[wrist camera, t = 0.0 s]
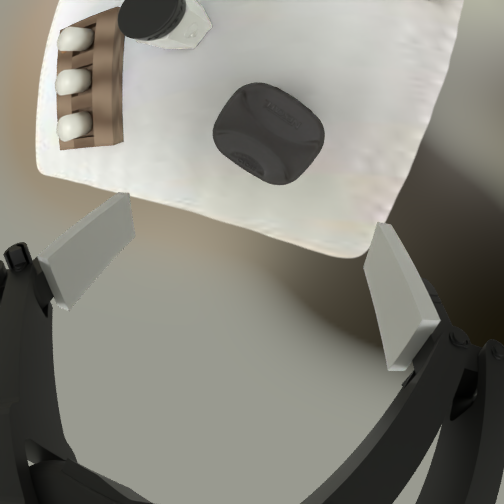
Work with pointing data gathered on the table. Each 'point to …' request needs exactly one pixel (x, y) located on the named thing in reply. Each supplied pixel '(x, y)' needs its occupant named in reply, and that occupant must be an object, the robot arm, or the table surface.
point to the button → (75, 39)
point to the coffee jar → (268, 133)
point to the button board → (96, 82)
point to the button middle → (73, 81)
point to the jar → (164, 22)
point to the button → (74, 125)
